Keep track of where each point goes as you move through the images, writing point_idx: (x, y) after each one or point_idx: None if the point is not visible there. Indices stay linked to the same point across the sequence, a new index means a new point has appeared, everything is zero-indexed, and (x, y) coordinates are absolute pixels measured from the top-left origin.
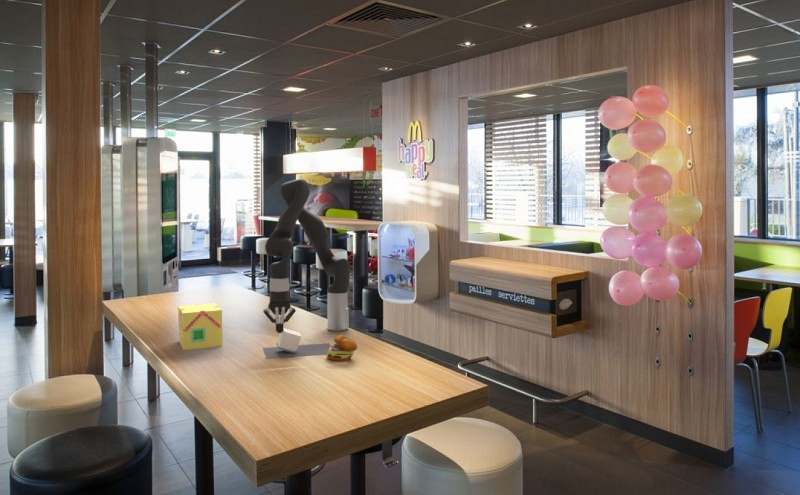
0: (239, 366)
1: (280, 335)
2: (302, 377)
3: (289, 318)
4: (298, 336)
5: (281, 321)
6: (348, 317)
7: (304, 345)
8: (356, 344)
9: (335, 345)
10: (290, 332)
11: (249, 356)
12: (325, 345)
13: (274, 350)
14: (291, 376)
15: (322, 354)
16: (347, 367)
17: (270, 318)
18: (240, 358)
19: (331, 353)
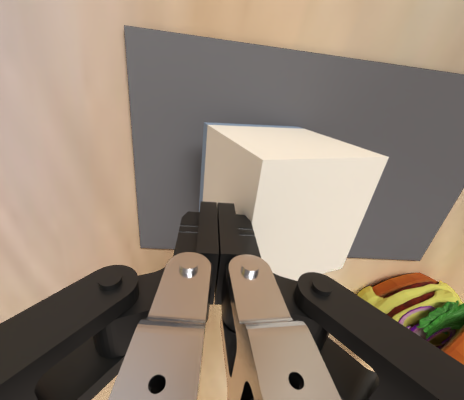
0: (34, 287)
1: (227, 183)
2: (225, 388)
3: (344, 369)
4: (324, 269)
5: (233, 335)
6: None
7: (385, 80)
8: None
9: (422, 327)
10: (292, 256)
11: (55, 172)
12: None
13: (192, 123)
14: (200, 380)
15: (368, 256)
16: (358, 359)
17: (61, 391)
18: (11, 191)
19: None
